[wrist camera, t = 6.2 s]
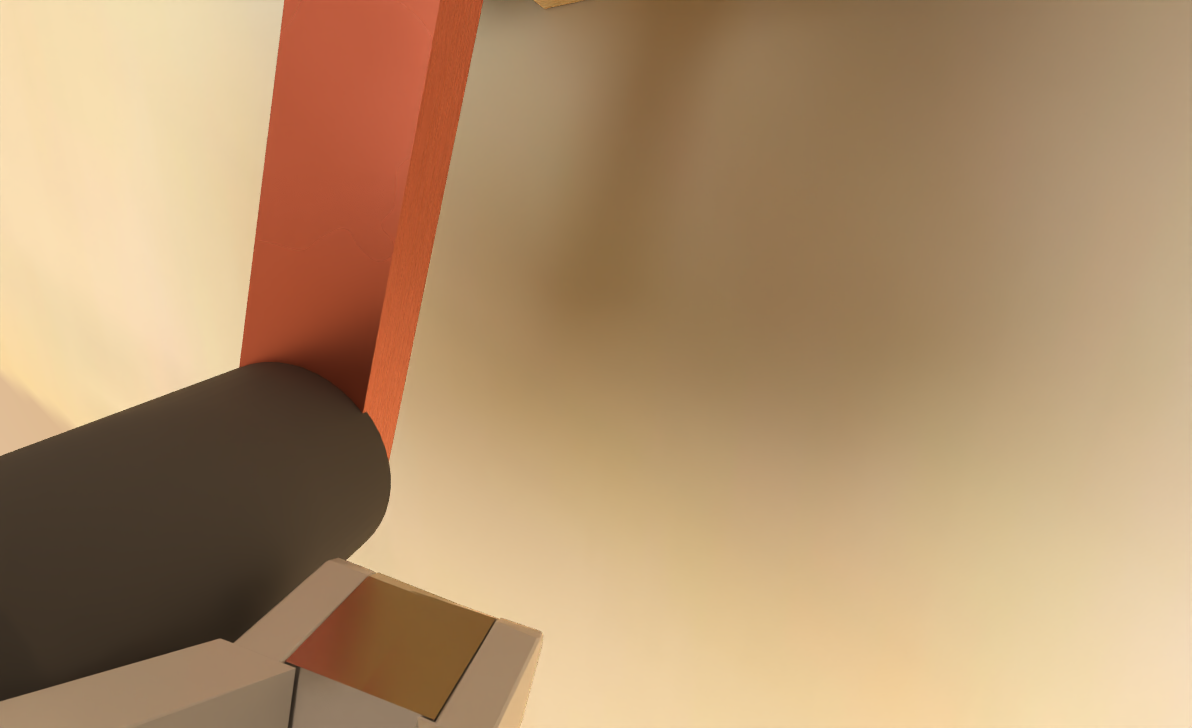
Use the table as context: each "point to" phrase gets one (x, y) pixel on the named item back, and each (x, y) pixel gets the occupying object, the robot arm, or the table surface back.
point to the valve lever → (256, 374)
